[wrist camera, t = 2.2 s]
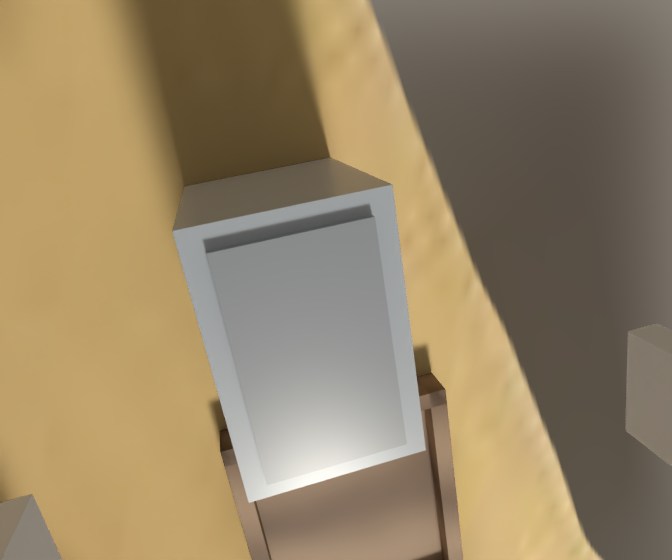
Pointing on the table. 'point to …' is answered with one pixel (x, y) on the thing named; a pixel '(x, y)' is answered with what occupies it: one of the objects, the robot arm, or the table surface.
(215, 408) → the table surface
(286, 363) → the grey paneled block
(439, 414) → the tray
